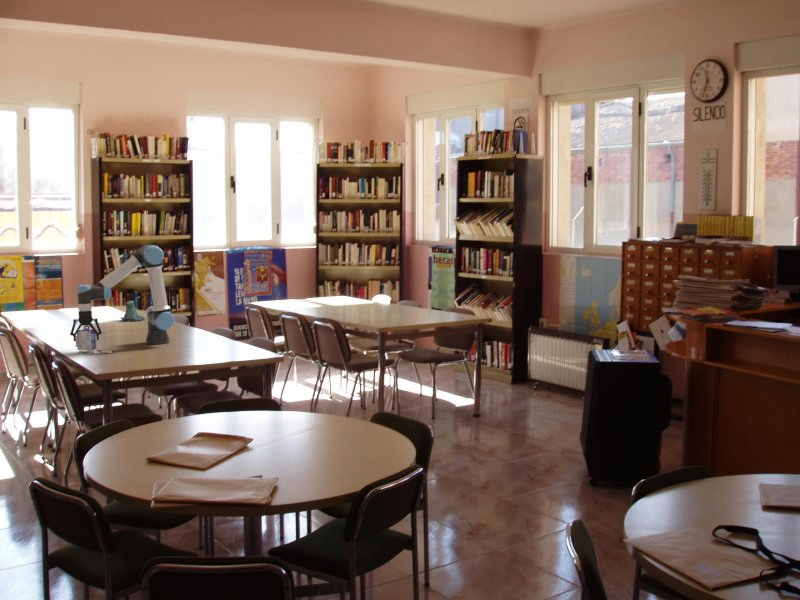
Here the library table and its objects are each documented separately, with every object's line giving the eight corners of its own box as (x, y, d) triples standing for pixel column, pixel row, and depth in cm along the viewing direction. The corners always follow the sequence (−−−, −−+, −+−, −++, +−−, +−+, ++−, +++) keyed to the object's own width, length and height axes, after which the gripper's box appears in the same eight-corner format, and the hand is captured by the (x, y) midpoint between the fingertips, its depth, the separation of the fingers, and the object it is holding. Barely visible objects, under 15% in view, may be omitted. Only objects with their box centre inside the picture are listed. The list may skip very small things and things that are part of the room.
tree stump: (151, 319, 675) (148, 298, 669) (136, 329, 658) (132, 307, 651) (132, 317, 681) (129, 296, 675) (116, 326, 664) (113, 305, 658)
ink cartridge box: (96, 349, 524) (95, 325, 522) (91, 350, 518) (90, 327, 517) (82, 348, 526) (80, 325, 524) (77, 350, 520) (75, 326, 519)
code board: (113, 349, 532) (113, 349, 532) (111, 353, 519) (111, 352, 519) (79, 351, 528) (79, 350, 527) (76, 354, 514) (76, 354, 514)
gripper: (105, 308, 526) (107, 344, 528) (65, 310, 520) (67, 346, 522) (104, 310, 518) (106, 346, 521) (63, 311, 513) (65, 348, 515)
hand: (86, 346), depth 522 cm, fingers closed on ink cartridge box, 11 cm apart
